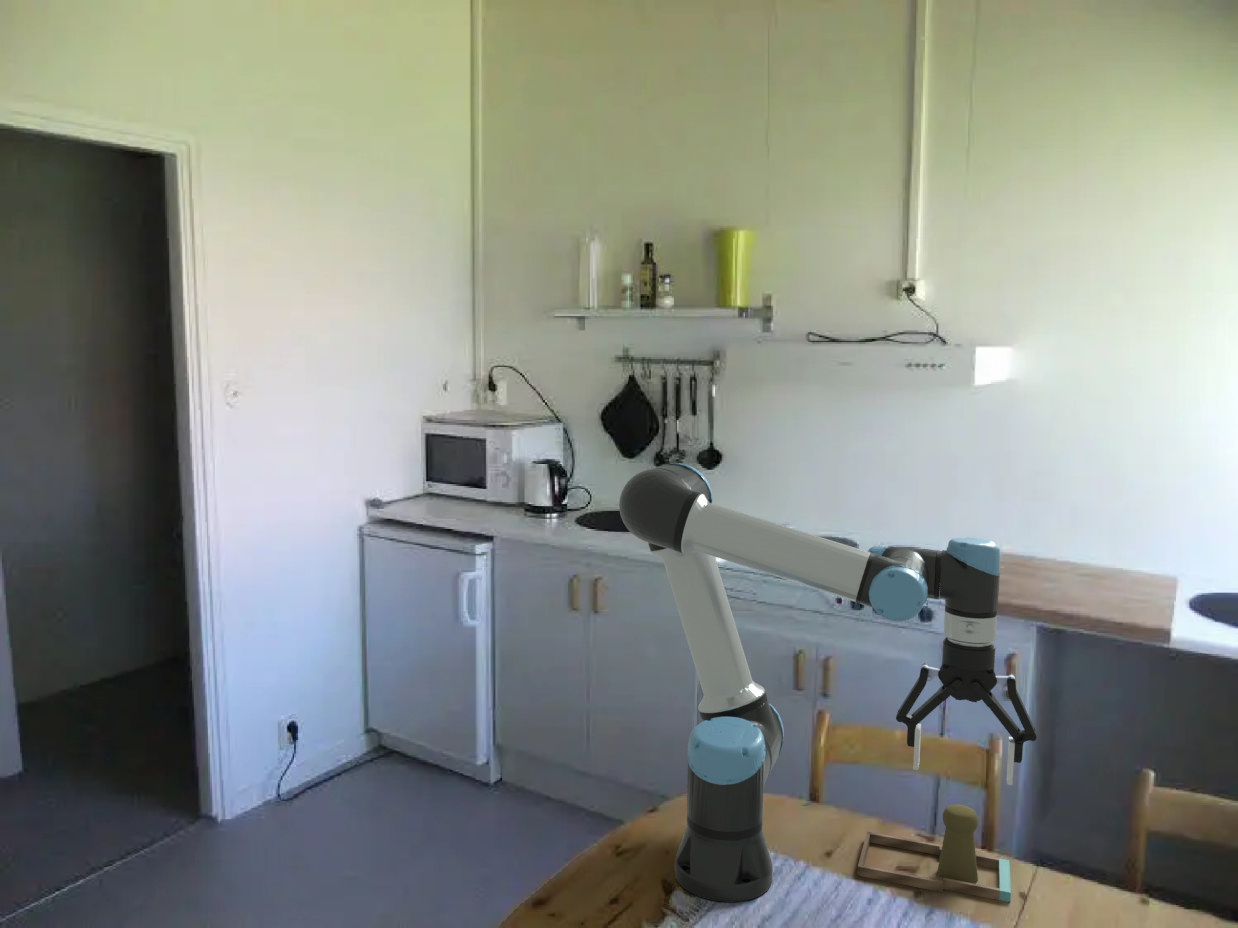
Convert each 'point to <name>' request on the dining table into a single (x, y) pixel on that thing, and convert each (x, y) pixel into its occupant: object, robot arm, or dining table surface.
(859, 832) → the dining table surface
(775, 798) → the dining table surface
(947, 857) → the cork
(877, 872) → the keyhole track
